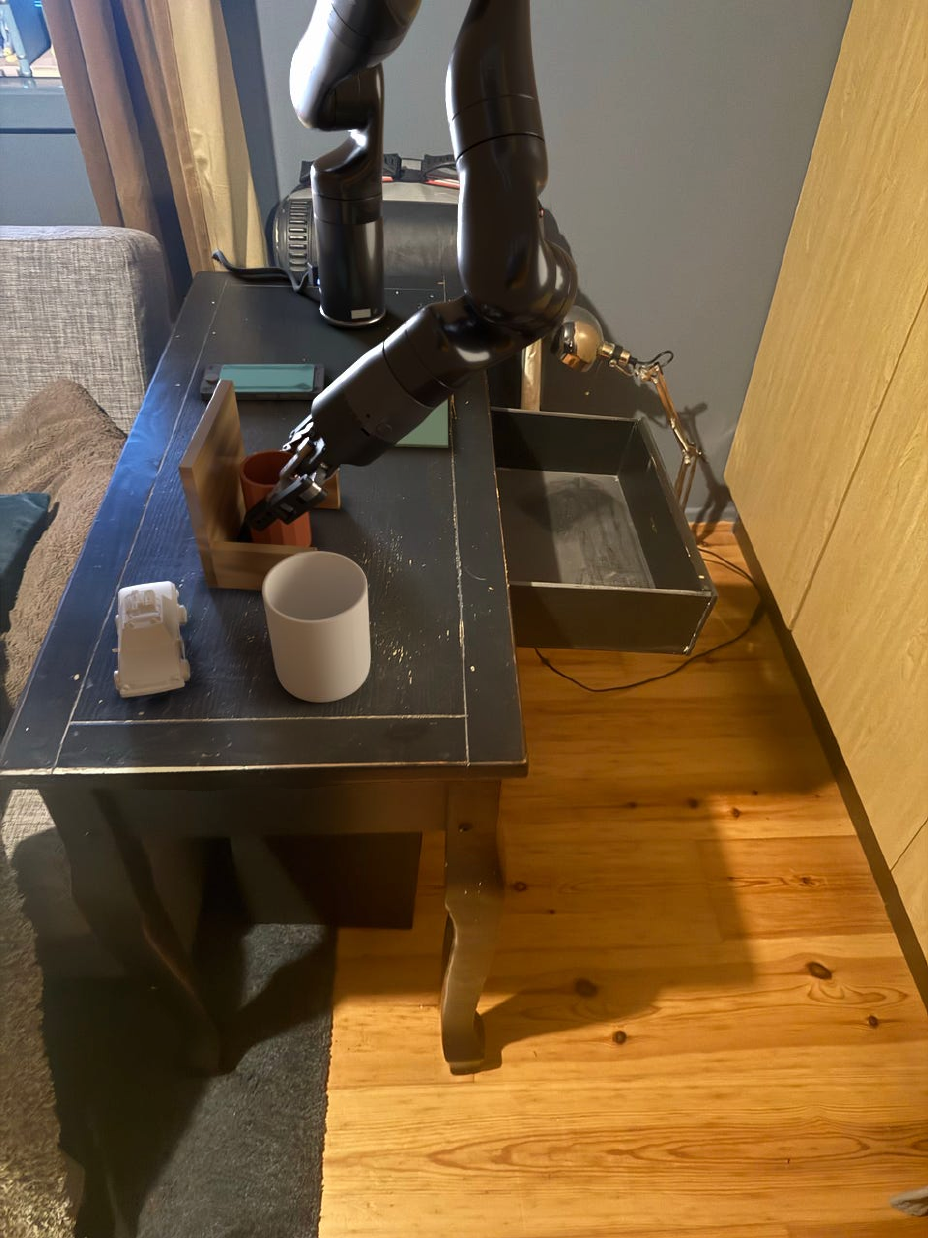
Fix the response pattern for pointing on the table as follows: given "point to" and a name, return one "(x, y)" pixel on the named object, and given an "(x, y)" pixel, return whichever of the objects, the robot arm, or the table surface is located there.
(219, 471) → the cubby
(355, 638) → the mug
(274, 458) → the cup
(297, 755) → the table surface
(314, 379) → the smartphone
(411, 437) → the mat
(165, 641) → the toy car
